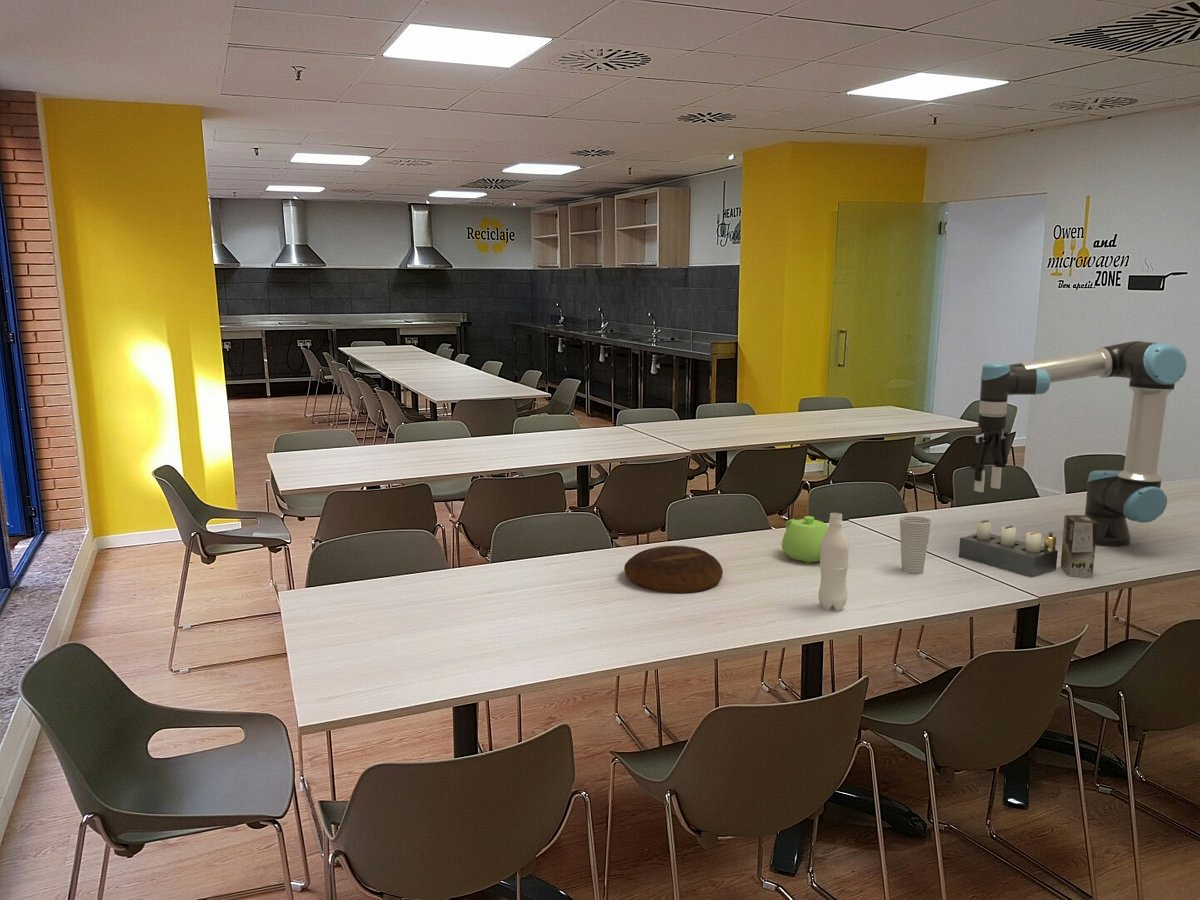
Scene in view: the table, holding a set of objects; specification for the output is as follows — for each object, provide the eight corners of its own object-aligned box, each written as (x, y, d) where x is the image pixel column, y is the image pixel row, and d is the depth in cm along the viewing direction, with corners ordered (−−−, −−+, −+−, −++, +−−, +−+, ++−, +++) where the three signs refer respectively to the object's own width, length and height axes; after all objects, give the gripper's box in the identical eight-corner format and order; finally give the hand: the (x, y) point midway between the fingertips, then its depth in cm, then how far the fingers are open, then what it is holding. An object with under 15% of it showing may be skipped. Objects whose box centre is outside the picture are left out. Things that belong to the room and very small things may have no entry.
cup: (927, 567, 264) (930, 517, 262) (928, 576, 257) (931, 524, 254) (897, 565, 267) (900, 514, 264) (896, 573, 259) (899, 522, 256)
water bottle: (814, 603, 236) (817, 511, 232) (840, 602, 237) (844, 510, 232) (823, 612, 229) (826, 518, 225) (850, 611, 230) (854, 517, 225)
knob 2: (1005, 546, 270) (1006, 524, 269) (1017, 549, 267) (1019, 527, 266) (997, 548, 268) (998, 526, 267) (1009, 551, 265) (1011, 529, 263)
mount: (982, 550, 281) (983, 531, 280) (1056, 570, 261) (1057, 550, 260) (958, 556, 275) (959, 537, 274) (1032, 577, 255) (1033, 557, 254)
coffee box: (1093, 578, 254) (1098, 523, 251) (1068, 576, 256) (1073, 522, 253) (1083, 568, 263) (1088, 514, 260) (1059, 567, 264) (1064, 514, 261)
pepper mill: (1047, 547, 263) (1048, 530, 262) (1057, 550, 260) (1058, 533, 259) (1041, 549, 261) (1043, 532, 260) (1051, 552, 259) (1052, 534, 258)
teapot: (855, 564, 269) (856, 521, 266) (819, 572, 261) (820, 529, 259) (802, 546, 287) (803, 507, 285) (767, 554, 279) (768, 513, 277)
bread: (609, 571, 265) (608, 542, 264) (689, 559, 276) (689, 531, 274) (652, 601, 239) (653, 570, 238) (739, 586, 250) (740, 556, 249)
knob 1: (981, 540, 277) (982, 518, 275) (993, 543, 273) (994, 521, 272) (973, 542, 275) (974, 520, 273) (985, 545, 271) (986, 523, 270)
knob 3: (1030, 552, 263) (1031, 530, 262) (1043, 555, 260) (1044, 533, 259) (1022, 554, 261) (1023, 532, 260) (1034, 558, 258) (1036, 535, 257)
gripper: (1001, 410, 275) (996, 483, 280) (959, 416, 265) (955, 491, 269) (1024, 413, 269) (1018, 487, 273) (982, 419, 258) (977, 496, 262)
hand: (987, 489), depth 271 cm, fingers open, 8 cm apart
